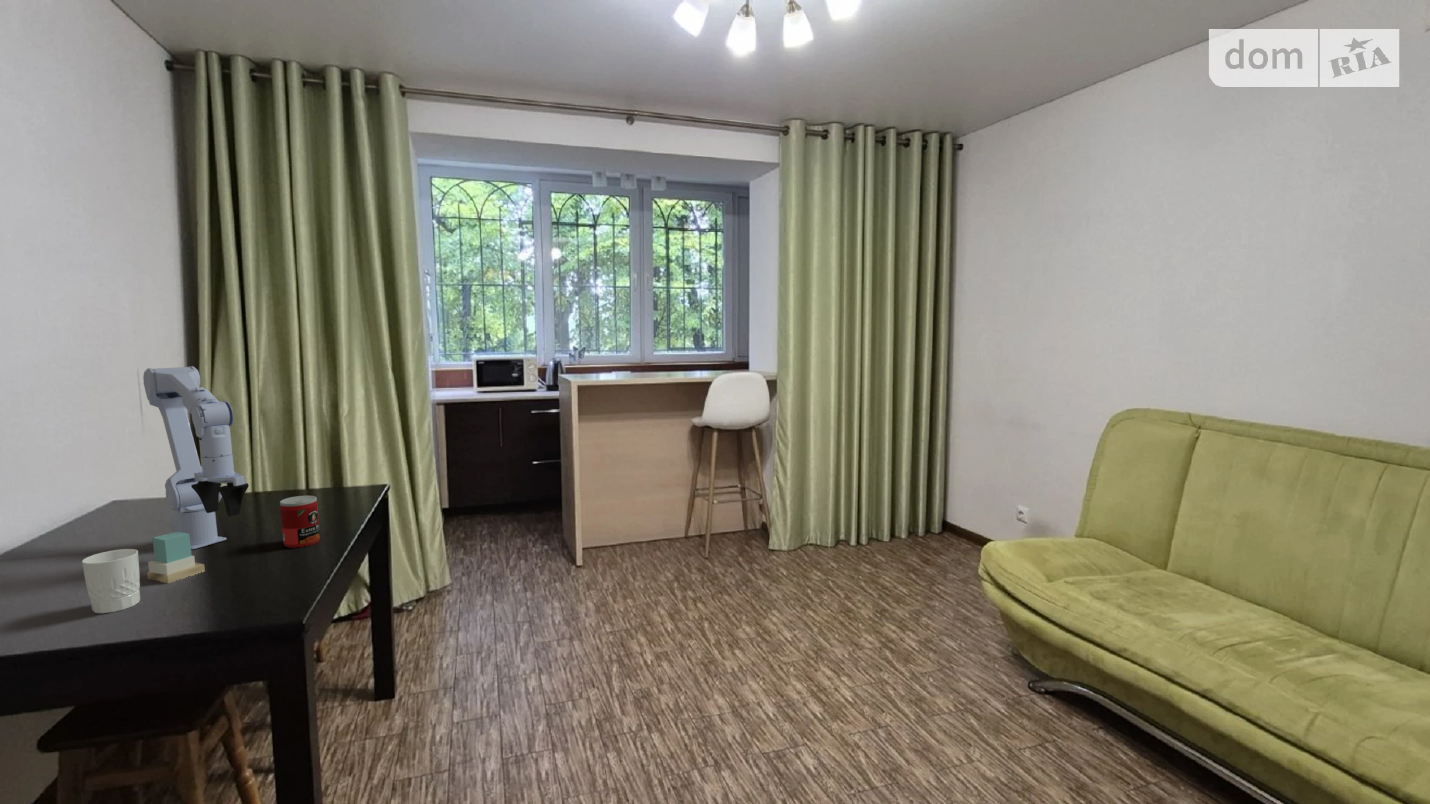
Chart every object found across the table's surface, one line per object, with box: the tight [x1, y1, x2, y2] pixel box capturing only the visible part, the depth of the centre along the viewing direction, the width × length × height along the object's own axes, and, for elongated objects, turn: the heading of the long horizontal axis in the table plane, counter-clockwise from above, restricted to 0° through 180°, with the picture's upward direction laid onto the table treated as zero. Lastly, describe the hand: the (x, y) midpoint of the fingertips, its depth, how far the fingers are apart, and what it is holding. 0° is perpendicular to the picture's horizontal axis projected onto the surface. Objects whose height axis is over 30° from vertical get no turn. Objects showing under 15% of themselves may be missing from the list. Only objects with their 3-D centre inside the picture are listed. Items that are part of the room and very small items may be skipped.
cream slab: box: [147, 555, 196, 575], centre depth 139 cm, size 6×6×2 cm
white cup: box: [81, 548, 141, 614], centre depth 124 cm, size 8×8×10 cm
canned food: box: [279, 495, 321, 549], centre depth 160 cm, size 8×8×11 cm
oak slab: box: [146, 562, 206, 584], centre depth 140 cm, size 7×7×2 cm
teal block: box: [152, 532, 192, 563], centre depth 139 cm, size 4×4×5 cm
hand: (223, 513), depth 150 cm, fingers open, 7 cm apart
